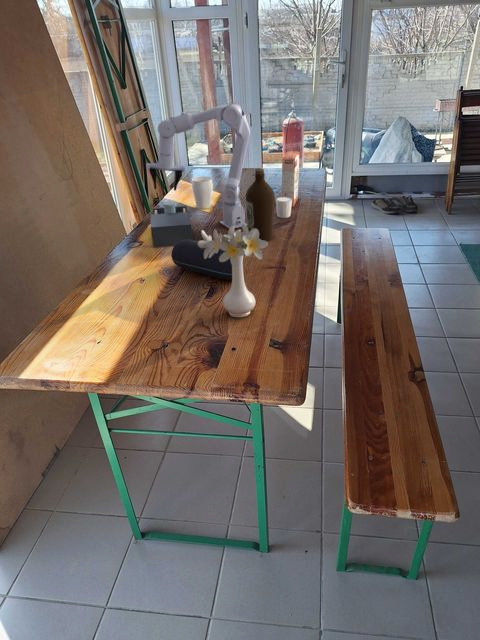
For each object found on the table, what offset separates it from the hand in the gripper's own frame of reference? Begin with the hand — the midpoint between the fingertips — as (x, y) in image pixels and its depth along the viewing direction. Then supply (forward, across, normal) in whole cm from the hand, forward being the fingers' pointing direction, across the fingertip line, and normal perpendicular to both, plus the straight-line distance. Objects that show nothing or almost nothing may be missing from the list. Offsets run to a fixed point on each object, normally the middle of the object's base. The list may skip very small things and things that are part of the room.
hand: (165, 189), depth 196 cm
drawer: (+12, -3, +7) cm, 14 cm away
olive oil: (+8, -34, +26) cm, 44 cm away
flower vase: (+8, -14, +82) cm, 83 cm away
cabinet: (+13, -2, +19) cm, 23 cm away
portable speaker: (+10, -11, +54) cm, 56 cm away
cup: (+12, -19, -17) cm, 28 cm away
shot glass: (+6, -50, +4) cm, 50 cm away
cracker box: (+6, -57, -12) cm, 58 cm away
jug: (+11, -2, +7) cm, 13 cm away
